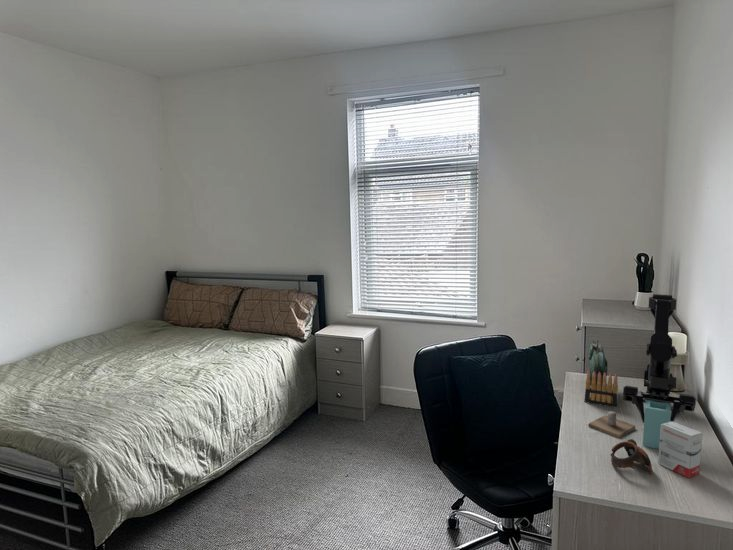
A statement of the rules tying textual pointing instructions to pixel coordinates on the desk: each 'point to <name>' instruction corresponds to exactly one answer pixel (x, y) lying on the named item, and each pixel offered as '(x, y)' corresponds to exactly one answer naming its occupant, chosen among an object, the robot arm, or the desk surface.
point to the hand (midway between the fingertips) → (656, 424)
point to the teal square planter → (655, 422)
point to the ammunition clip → (598, 394)
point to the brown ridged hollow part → (630, 455)
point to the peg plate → (610, 429)
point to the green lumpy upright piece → (597, 361)
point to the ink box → (680, 449)
